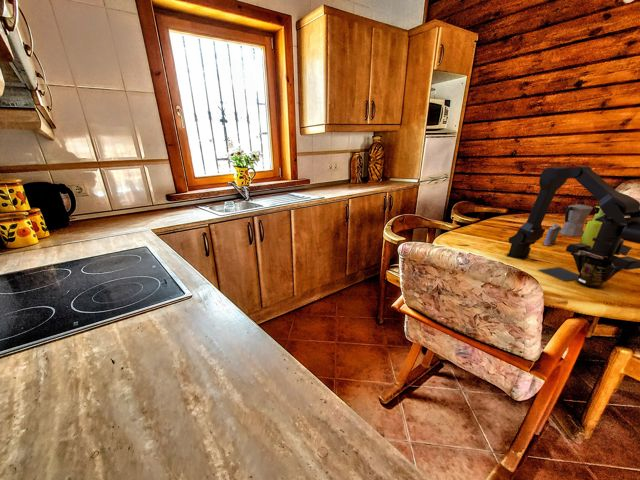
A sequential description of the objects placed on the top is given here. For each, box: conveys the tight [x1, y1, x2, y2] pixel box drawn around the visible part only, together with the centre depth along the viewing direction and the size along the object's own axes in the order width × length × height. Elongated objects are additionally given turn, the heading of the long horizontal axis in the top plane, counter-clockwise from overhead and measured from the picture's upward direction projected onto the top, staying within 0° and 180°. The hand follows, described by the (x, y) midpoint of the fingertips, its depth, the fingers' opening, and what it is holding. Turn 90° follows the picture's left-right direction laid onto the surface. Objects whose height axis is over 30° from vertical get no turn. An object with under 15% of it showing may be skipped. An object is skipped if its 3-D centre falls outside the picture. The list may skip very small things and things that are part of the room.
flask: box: [542, 222, 562, 247], centre depth 137 cm, size 9×3×11 cm, turn 121°
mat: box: [538, 267, 579, 282], centre depth 110 cm, size 10×10×1 cm
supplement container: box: [576, 255, 613, 289], centre depth 100 cm, size 7×7×10 cm
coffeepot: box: [558, 200, 594, 238], centre depth 147 cm, size 15×9×18 cm, turn 103°
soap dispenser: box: [579, 205, 605, 249], centre depth 128 cm, size 6×7×20 cm
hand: (592, 277), depth 101 cm, fingers closed on supplement container, 7 cm apart
